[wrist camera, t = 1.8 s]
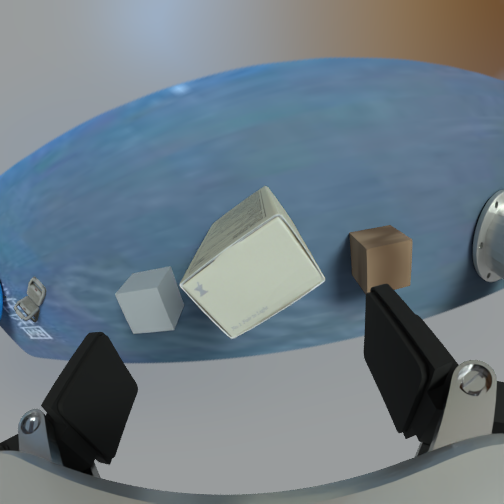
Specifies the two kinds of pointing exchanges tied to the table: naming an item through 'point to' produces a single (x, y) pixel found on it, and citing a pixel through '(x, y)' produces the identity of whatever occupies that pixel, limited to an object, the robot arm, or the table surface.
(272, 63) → the table surface
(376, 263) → the walnut block
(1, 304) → the alarm clock
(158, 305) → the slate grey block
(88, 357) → the robot arm
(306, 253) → the skincare box
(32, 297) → the strap clip
